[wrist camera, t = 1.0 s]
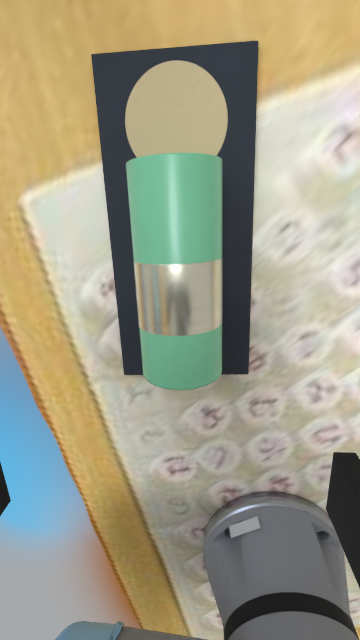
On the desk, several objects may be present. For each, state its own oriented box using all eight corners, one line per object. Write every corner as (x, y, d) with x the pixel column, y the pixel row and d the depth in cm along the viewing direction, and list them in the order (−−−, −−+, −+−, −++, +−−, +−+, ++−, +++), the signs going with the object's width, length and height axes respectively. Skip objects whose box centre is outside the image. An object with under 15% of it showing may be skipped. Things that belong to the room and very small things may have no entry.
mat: (247, 372, 30) (248, 374, 30) (125, 373, 31) (124, 375, 30) (257, 43, 22) (258, 40, 22) (92, 56, 23) (91, 53, 23)
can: (220, 354, 29) (225, 391, 23) (149, 354, 30) (135, 391, 23) (220, 167, 24) (226, 149, 18) (135, 172, 25) (113, 155, 18)
